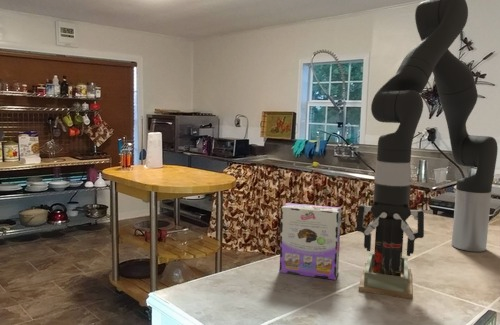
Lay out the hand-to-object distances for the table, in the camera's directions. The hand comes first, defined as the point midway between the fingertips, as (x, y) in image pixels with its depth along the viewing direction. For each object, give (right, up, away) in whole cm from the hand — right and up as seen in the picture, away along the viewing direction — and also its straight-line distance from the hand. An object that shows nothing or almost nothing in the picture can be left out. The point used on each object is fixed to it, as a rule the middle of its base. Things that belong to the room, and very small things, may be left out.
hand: (388, 252), depth 97 cm
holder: (+1, -8, +3) cm, 8 cm away
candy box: (-17, -7, +8) cm, 20 cm away
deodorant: (0, -7, +1) cm, 7 cm away
